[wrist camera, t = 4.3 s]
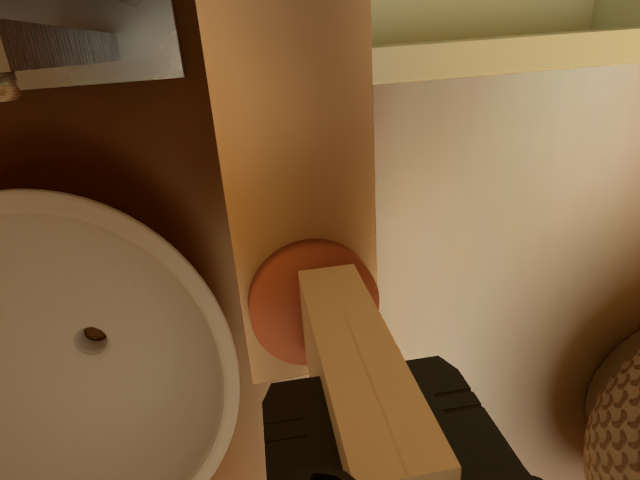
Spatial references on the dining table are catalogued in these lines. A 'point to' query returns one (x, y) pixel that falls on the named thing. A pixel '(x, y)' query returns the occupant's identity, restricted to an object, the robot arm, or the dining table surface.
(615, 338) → the dining table surface
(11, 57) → the stand
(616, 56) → the cream open box
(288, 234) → the lever
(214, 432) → the dish
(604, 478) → the planter
